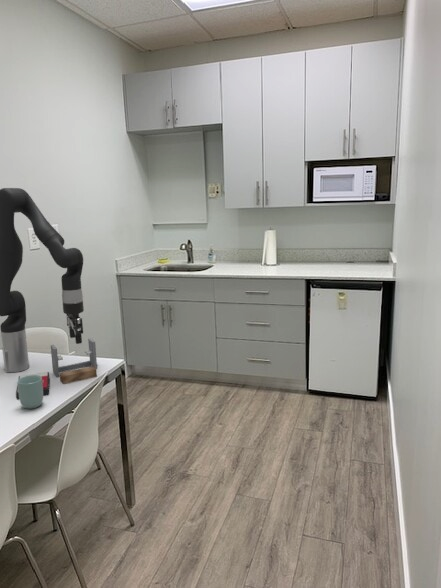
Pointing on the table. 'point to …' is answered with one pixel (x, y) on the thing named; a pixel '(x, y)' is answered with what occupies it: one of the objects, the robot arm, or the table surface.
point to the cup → (30, 391)
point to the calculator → (44, 378)
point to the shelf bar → (78, 375)
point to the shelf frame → (92, 362)
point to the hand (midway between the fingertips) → (75, 340)
